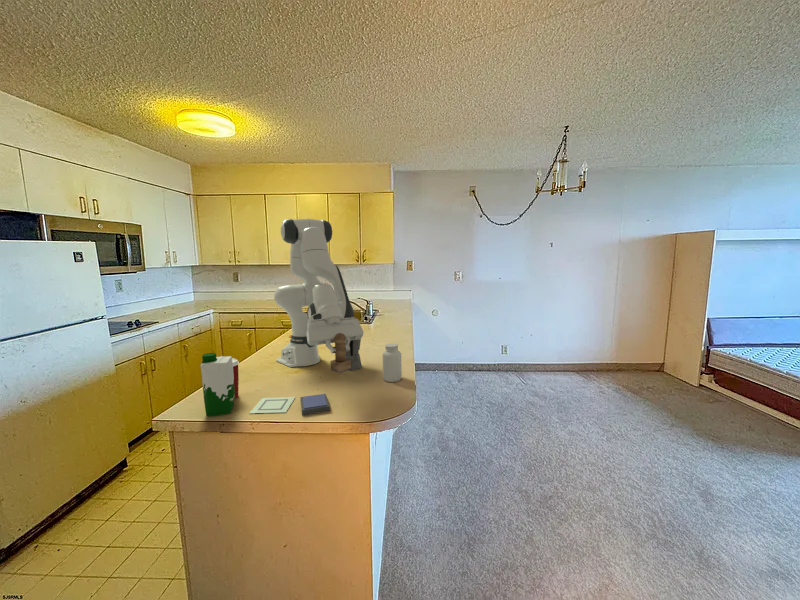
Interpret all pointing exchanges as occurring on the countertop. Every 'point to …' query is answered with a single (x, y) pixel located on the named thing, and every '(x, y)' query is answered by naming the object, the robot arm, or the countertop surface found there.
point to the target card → (273, 405)
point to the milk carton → (217, 384)
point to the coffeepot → (354, 354)
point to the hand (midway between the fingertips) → (340, 351)
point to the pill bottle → (391, 363)
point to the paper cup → (235, 375)
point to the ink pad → (314, 404)
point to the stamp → (340, 355)
